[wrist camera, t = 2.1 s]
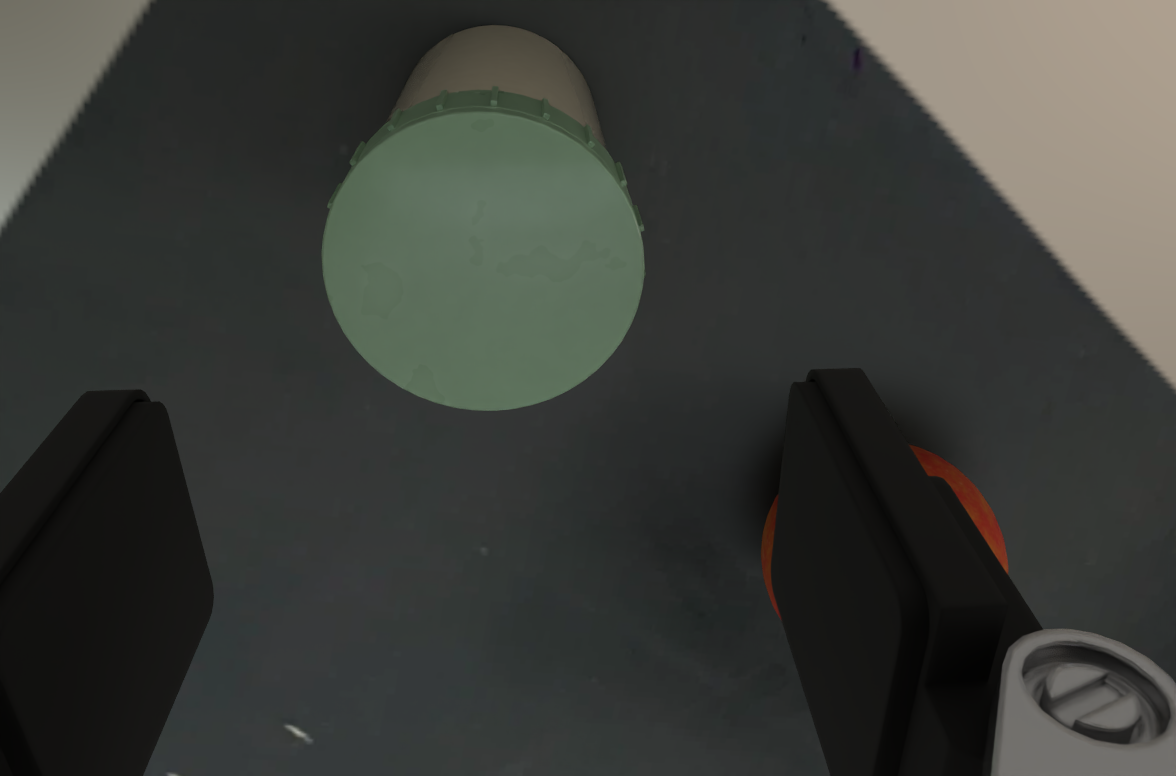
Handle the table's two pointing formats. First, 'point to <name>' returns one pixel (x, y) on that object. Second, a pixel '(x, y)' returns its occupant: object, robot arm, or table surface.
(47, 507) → the robot arm
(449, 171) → the lid
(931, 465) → the fruit
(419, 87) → the jar
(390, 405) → the table surface
